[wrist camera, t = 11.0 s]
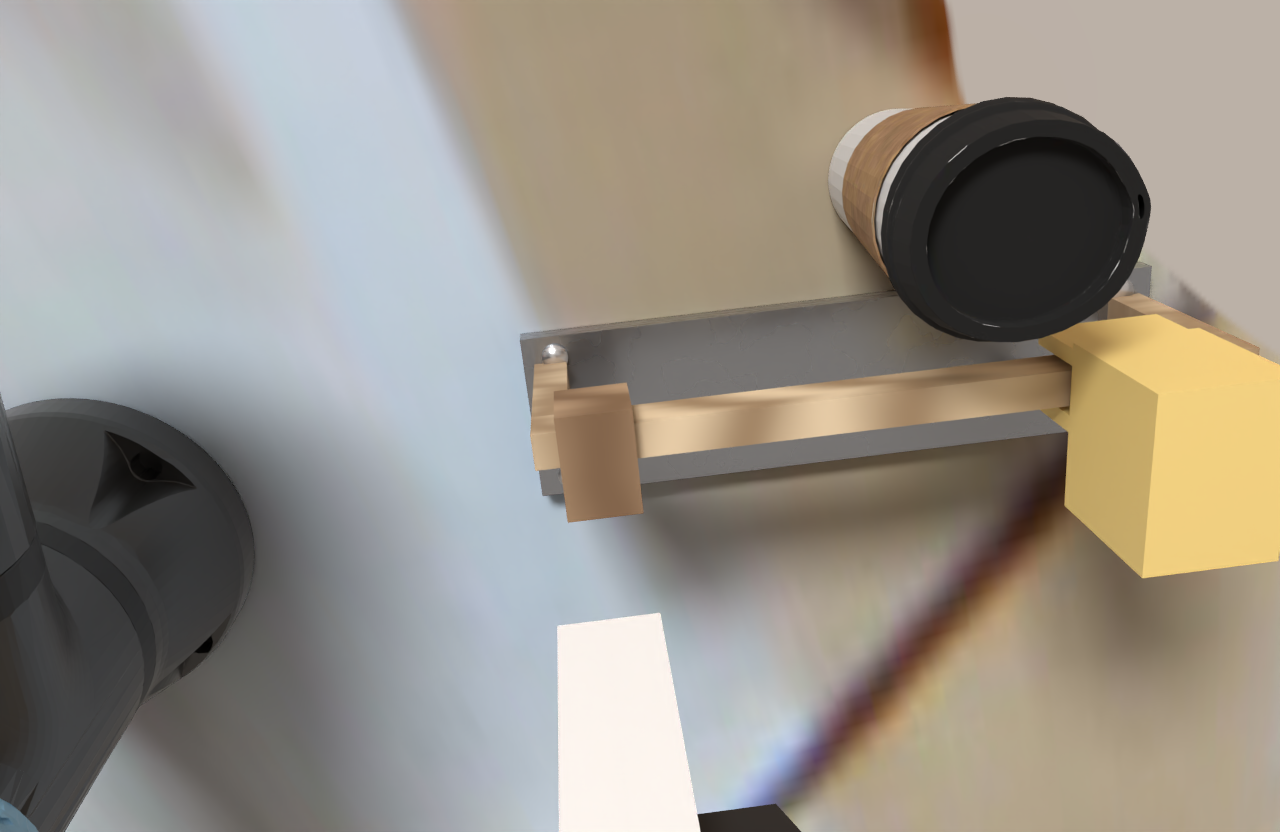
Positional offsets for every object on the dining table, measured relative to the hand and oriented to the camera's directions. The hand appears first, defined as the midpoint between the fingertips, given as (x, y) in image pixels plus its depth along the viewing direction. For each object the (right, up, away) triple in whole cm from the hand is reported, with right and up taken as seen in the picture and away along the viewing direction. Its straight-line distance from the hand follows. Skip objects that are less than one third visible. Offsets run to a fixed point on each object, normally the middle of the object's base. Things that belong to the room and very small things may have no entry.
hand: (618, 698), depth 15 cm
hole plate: (+10, +6, +35) cm, 37 cm away
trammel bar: (+10, +7, +34) cm, 36 cm away
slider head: (+19, +7, +34) cm, 40 cm away
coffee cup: (+12, +15, +32) cm, 38 cm away
